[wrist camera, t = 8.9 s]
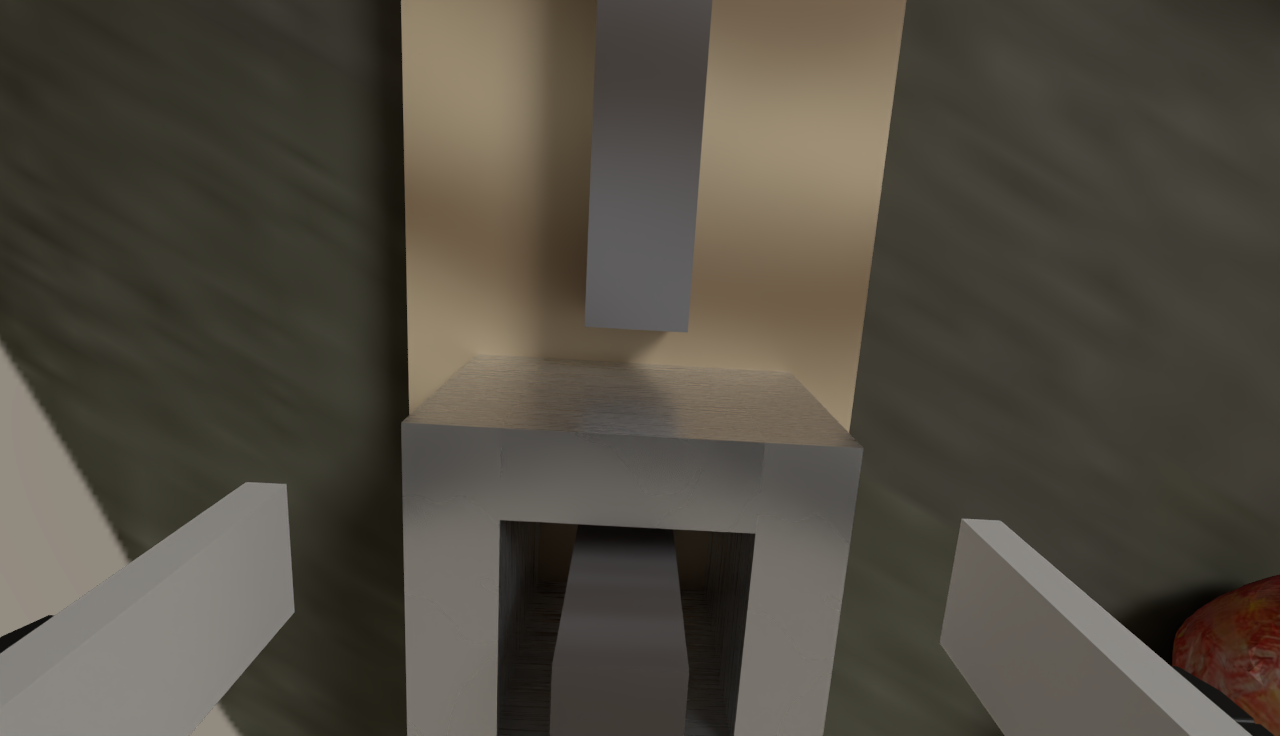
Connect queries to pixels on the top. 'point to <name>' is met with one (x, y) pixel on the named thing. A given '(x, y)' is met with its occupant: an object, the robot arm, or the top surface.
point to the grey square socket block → (629, 497)
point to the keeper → (641, 246)
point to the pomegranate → (1238, 648)
